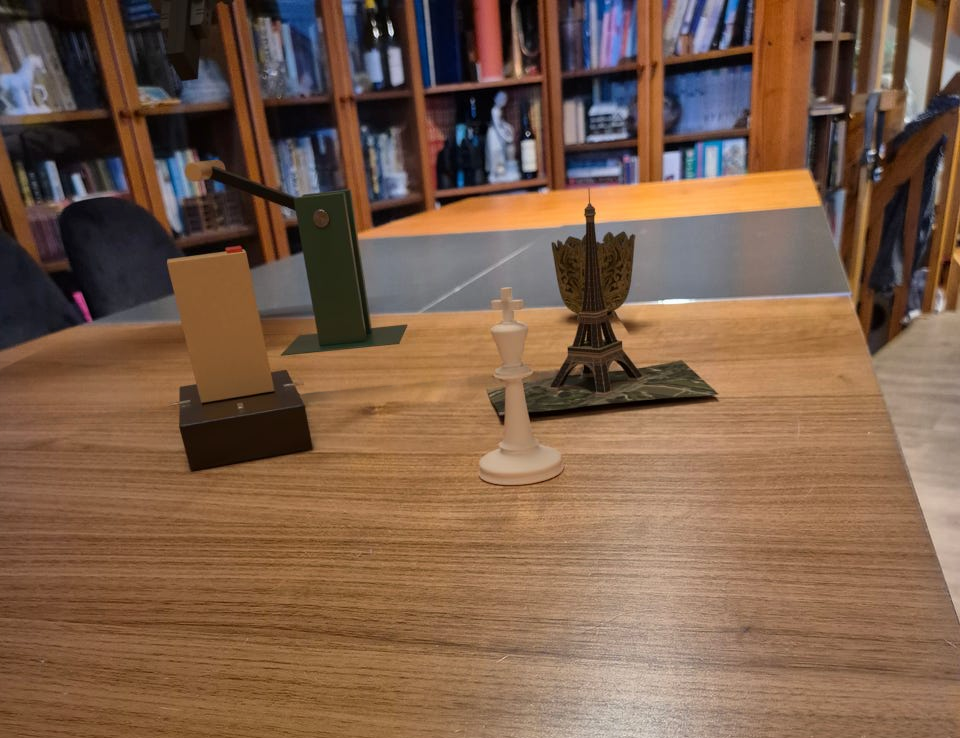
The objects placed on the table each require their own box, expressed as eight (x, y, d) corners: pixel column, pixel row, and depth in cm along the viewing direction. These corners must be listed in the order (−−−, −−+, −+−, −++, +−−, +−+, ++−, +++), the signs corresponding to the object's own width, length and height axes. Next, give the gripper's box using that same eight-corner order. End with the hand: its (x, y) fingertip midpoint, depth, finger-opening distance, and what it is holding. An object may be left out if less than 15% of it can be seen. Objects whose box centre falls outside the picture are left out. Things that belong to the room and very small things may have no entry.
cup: (550, 340, 85) (544, 245, 81) (563, 323, 91) (558, 235, 87) (632, 335, 83) (630, 239, 79) (640, 319, 89) (638, 228, 85)
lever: (181, 183, 79) (187, 153, 78) (207, 179, 86) (212, 151, 85) (331, 239, 81) (338, 210, 80) (344, 230, 88) (350, 204, 87)
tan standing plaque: (201, 403, 63) (165, 257, 59) (200, 397, 65) (166, 255, 60) (274, 391, 64) (245, 247, 60) (272, 385, 66) (243, 245, 61)
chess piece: (505, 454, 57) (489, 280, 52) (578, 460, 54) (569, 278, 49) (462, 481, 53) (441, 297, 48) (538, 489, 51) (525, 296, 46)
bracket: (283, 367, 86) (250, 203, 79) (301, 347, 94) (272, 196, 87) (400, 355, 85) (378, 189, 78) (409, 336, 93) (388, 184, 86)
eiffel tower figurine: (496, 426, 62) (476, 207, 56) (486, 389, 71) (468, 197, 65) (719, 400, 62) (725, 179, 56) (680, 367, 71) (682, 173, 65)
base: (181, 427, 70) (170, 385, 69) (302, 407, 72) (294, 365, 70) (181, 473, 60) (168, 425, 58) (322, 448, 62) (313, 400, 60)
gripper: (283, -120, 85) (273, 93, 80) (150, -98, 87) (131, 112, 81) (253, -211, 78) (239, 16, 72) (108, -185, 80) (84, 38, 74)
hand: (182, 66), depth 77 cm, fingers closed
